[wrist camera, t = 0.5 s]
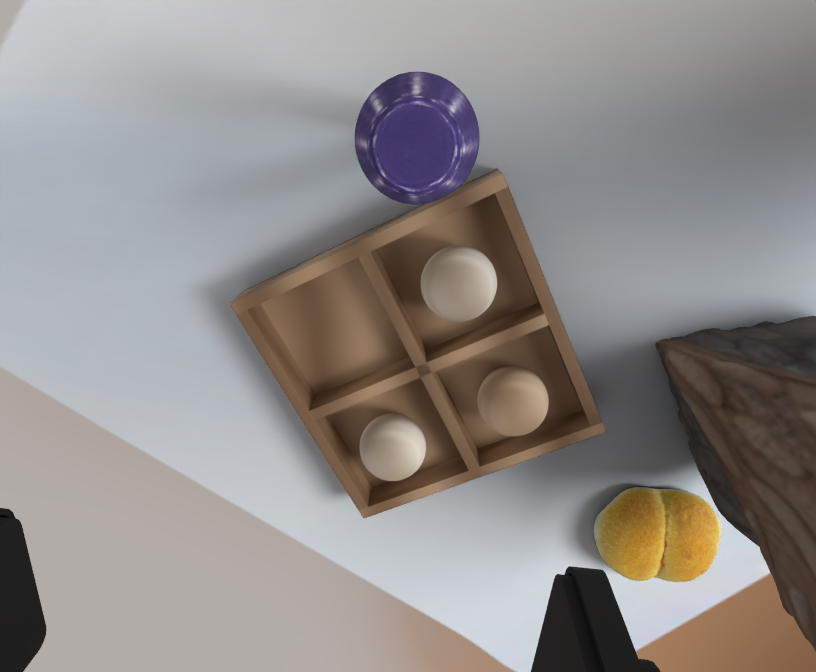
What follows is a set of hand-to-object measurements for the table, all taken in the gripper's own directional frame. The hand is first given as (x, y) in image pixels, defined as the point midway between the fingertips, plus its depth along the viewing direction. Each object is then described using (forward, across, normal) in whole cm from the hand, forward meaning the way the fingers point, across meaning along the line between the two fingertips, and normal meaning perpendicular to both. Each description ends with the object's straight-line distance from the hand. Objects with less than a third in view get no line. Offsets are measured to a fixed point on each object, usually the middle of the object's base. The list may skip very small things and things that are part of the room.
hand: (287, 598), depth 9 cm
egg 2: (+26, -4, +1) cm, 27 cm away
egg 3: (+26, -9, +8) cm, 29 cm away
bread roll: (+28, -22, +20) cm, 41 cm away
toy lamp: (+27, -1, -7) cm, 28 cm away
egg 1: (+26, -1, +13) cm, 29 cm away
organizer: (+27, -2, +7) cm, 28 cm away
